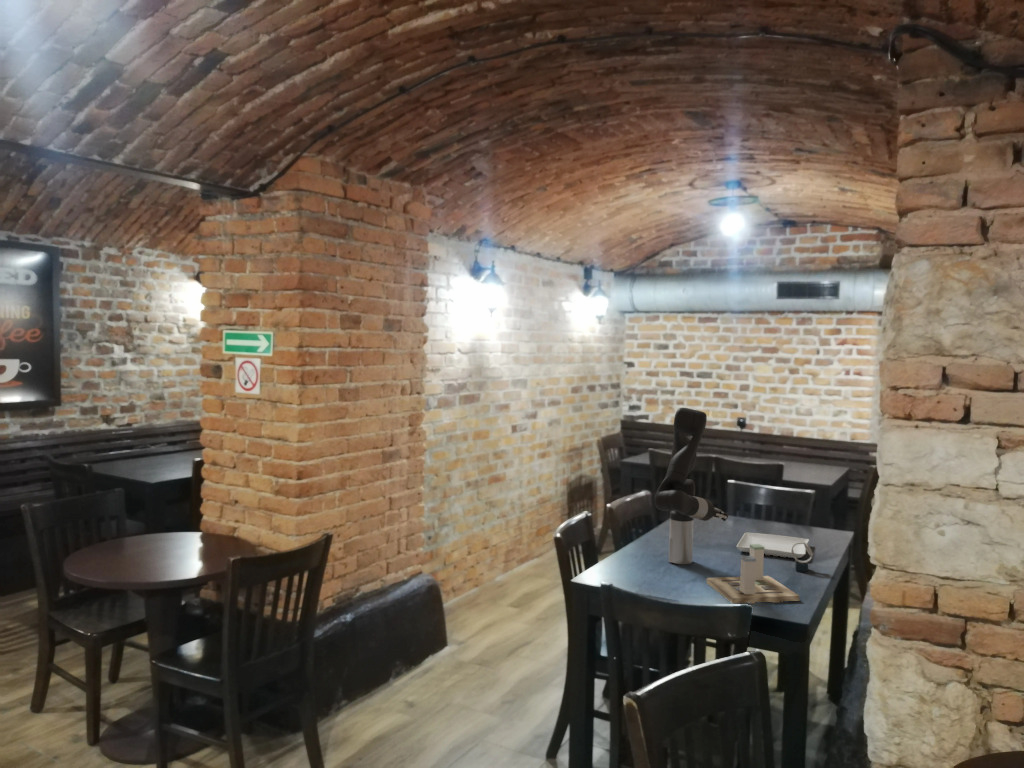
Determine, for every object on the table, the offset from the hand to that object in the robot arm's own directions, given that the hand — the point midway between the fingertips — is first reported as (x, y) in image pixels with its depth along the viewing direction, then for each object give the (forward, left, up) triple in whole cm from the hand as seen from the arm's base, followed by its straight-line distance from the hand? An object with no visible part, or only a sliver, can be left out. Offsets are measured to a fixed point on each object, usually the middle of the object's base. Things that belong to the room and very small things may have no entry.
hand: (726, 515), depth 279 cm
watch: (+31, +22, -25) cm, 45 cm away
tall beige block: (+11, -2, -22) cm, 25 cm away
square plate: (+24, +50, -25) cm, 60 cm away
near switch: (+6, -19, -22) cm, 29 cm away
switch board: (+9, -10, -24) cm, 28 cm away
